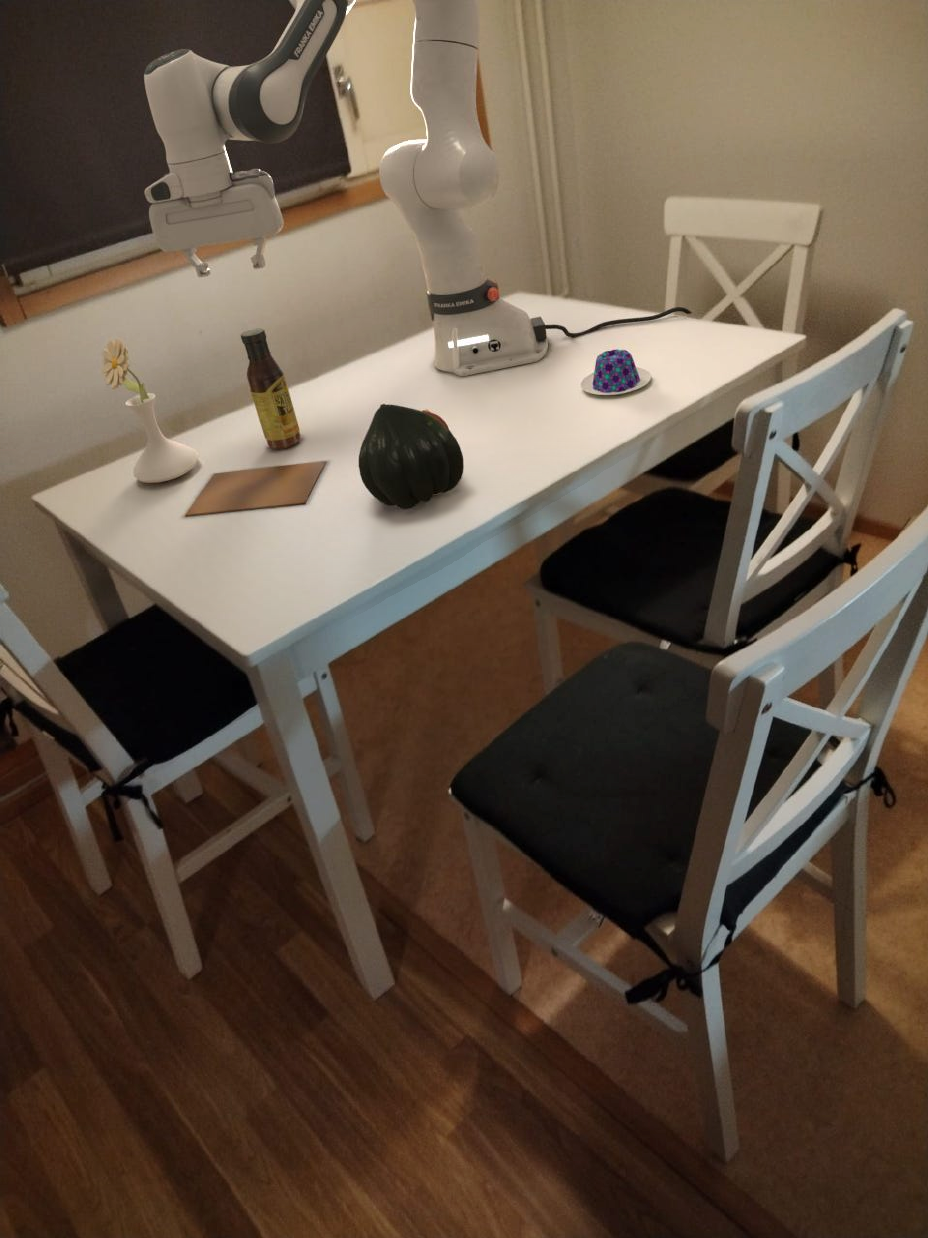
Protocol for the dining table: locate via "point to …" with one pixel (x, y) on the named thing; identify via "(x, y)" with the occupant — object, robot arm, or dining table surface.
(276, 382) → the sauce bottle
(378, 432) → the squash
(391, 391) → the dining table surface
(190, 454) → the flower in vase
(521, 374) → the dining table surface
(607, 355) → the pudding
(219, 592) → the dining table surface
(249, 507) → the cork mat
